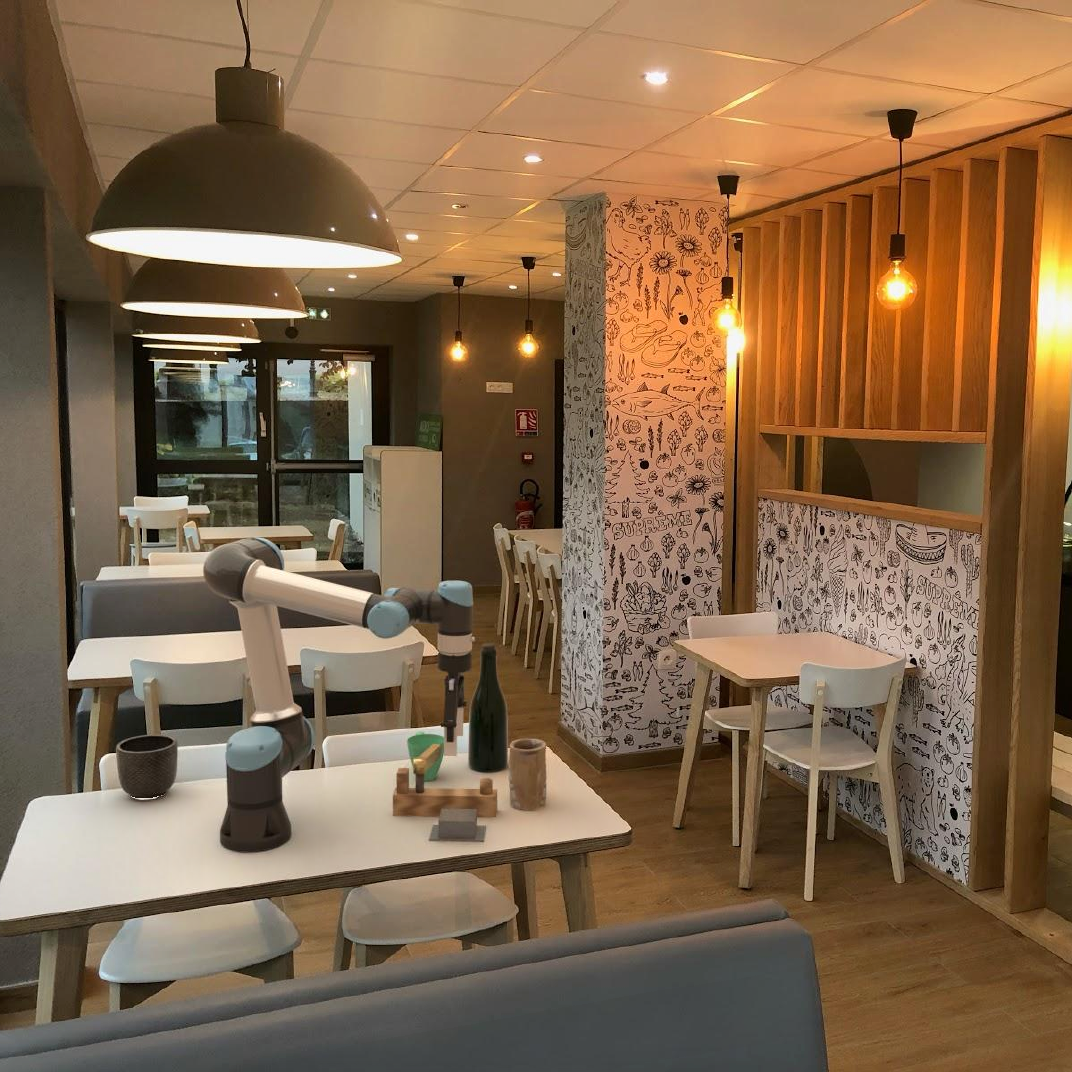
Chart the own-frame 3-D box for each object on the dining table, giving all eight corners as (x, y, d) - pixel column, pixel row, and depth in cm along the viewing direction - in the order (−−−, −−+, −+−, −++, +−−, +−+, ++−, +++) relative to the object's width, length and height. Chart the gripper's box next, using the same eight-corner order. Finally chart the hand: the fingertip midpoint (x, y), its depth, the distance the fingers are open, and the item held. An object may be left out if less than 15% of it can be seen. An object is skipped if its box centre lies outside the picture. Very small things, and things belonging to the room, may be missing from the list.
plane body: (392, 815, 240) (392, 774, 239) (395, 807, 244) (395, 767, 243) (496, 817, 240) (496, 775, 238) (497, 809, 244) (497, 768, 243)
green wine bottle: (467, 773, 268) (468, 648, 264) (468, 759, 279) (469, 639, 275) (507, 773, 269) (509, 648, 265) (507, 759, 279) (508, 639, 275)
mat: (428, 840, 226) (428, 839, 226) (433, 826, 234) (433, 824, 234) (483, 841, 226) (483, 840, 226) (486, 827, 234) (486, 825, 234)
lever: (423, 775, 239) (423, 761, 239) (411, 774, 240) (411, 760, 239) (442, 756, 252) (442, 743, 252) (431, 755, 253) (431, 742, 252)
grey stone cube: (438, 838, 227) (438, 820, 226) (441, 825, 234) (441, 808, 233) (474, 839, 226) (474, 821, 226) (477, 826, 233) (477, 809, 233)
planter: (143, 810, 241) (141, 756, 240) (105, 797, 249) (103, 745, 247) (191, 791, 253) (189, 740, 252) (153, 780, 261) (152, 730, 259)
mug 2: (520, 813, 242) (521, 751, 240) (494, 795, 253) (494, 736, 251) (553, 806, 247) (554, 745, 245) (525, 789, 257) (526, 730, 256)
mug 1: (449, 782, 262) (449, 744, 260) (411, 786, 259) (411, 747, 257) (436, 763, 275) (436, 726, 274) (400, 766, 272) (400, 730, 271)
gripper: (466, 666, 214) (465, 765, 217) (477, 639, 239) (475, 728, 242) (430, 665, 214) (429, 763, 217) (444, 638, 239) (443, 727, 242)
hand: (453, 745), depth 229 cm, fingers open, 13 cm apart
